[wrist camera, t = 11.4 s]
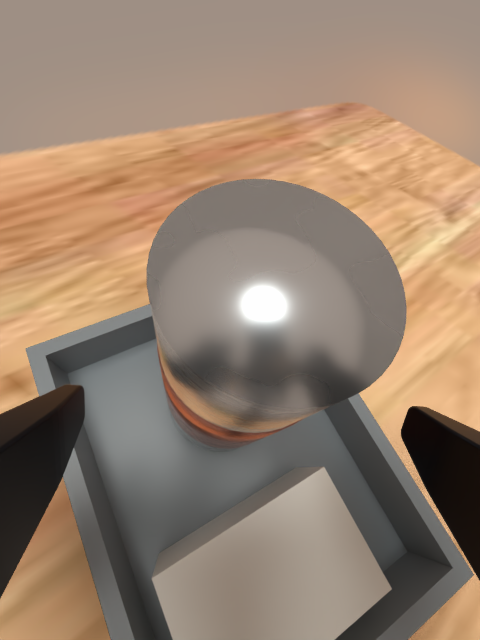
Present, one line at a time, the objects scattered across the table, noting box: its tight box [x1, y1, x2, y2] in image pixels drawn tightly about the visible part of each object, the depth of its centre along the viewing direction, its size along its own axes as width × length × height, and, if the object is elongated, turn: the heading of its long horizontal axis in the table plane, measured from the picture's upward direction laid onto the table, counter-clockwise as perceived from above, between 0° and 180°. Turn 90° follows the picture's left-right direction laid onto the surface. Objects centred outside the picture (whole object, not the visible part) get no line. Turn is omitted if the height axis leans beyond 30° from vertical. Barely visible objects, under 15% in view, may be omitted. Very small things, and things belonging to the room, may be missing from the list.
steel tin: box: [147, 179, 406, 451], centre depth 13 cm, size 6×6×13 cm
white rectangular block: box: [152, 467, 392, 640], centre depth 14 cm, size 5×8×4 cm, turn 118°
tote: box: [26, 304, 474, 640], centre depth 16 cm, size 18×14×4 cm
